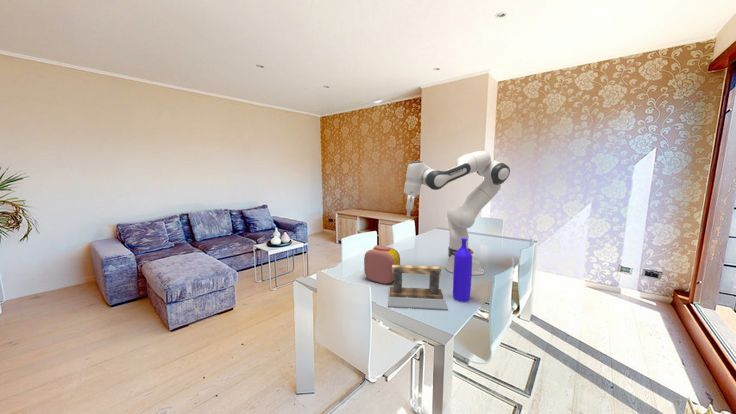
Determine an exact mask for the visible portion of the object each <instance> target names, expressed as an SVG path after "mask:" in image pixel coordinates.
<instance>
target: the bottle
mask: <svg viewBox="0 0 736 414" xmlns="http://www.w3.org/2000/svg"><path fill="white" fill-rule="evenodd" d="M461 240H462V246H461V248H460V249H459V250H458V251H457V252H456V253H455V257H454V273H452V274H453V275H452V276H453V277H452V278H453V279H452V298H453V299H454V300H455V301H457V302H460V303H465V302H468V301H470V298H471V292H472V291H471V290H472V276H473V275H472V255H473V254H471V253H470V251H469V250H468V249H467V247H466V241H467V240H468V241H469V239H466V238H461Z"/></svg>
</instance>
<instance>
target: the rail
mask: <svg viewBox="0 0 736 414" xmlns="http://www.w3.org/2000/svg"><path fill="white" fill-rule="evenodd" d="M394 268H395V269H402V274H409V275H410V274H413V275H414V274H415V275H416V274H417V275H418V274H419V275H430V274H431V270H439V271H440V274H439V276H441V275H442V268H441V266H438V267H437V266H436V265H434V266H433V265H406V264H405V265H404V264H403V265H402V264H400V265H392V273H394Z"/></svg>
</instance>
